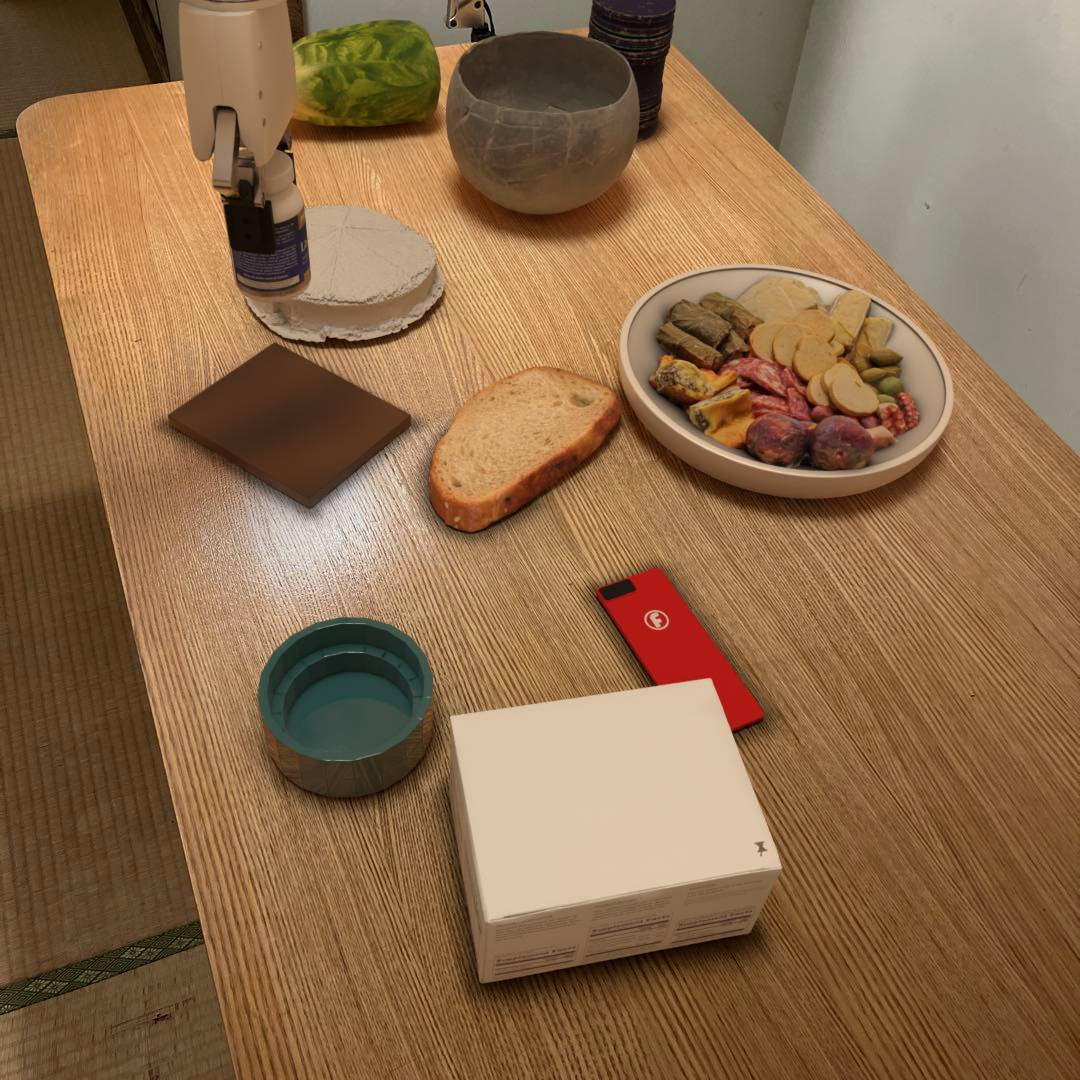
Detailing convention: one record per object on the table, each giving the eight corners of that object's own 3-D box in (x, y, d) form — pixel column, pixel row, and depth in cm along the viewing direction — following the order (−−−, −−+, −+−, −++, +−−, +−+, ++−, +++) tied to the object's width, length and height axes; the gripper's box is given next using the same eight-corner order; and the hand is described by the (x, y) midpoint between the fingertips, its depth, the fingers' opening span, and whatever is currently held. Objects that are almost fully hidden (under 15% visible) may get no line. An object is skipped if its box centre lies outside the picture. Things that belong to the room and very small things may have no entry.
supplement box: (688, 751, 74) (714, 673, 67) (751, 936, 66) (788, 869, 59) (445, 787, 71) (446, 709, 64) (479, 987, 63) (484, 922, 56)
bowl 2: (575, 319, 106) (583, 250, 101) (848, 292, 113) (871, 226, 107) (674, 541, 87) (691, 472, 82) (996, 493, 94) (1033, 426, 88)
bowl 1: (488, 135, 130) (493, 6, 119) (649, 177, 126) (670, 48, 115) (414, 217, 117) (412, 80, 105) (591, 267, 113) (608, 131, 101)
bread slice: (433, 536, 86) (433, 503, 83) (415, 389, 98) (414, 356, 95) (651, 521, 89) (658, 489, 86) (608, 380, 100) (612, 348, 98)
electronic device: (765, 718, 76) (658, 570, 85) (766, 714, 76) (659, 565, 85) (695, 747, 74) (593, 592, 83) (697, 743, 74) (594, 588, 83)
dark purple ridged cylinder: (658, 146, 131) (683, -8, 117) (577, 138, 131) (593, -17, 117) (656, 108, 138) (680, -43, 124) (580, 100, 137) (596, -51, 124)
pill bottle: (324, 293, 82) (313, 173, 74) (252, 313, 79) (233, 191, 72) (293, 254, 85) (280, 135, 77) (223, 273, 82) (203, 151, 75)
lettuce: (257, 110, 130) (245, 14, 121) (422, 92, 136) (421, -1, 127) (278, 157, 123) (266, 59, 114) (450, 136, 129) (451, 41, 120)
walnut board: (169, 425, 92) (166, 414, 91) (276, 351, 100) (274, 341, 99) (310, 509, 87) (308, 498, 86) (411, 424, 94) (411, 414, 94)
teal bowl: (231, 740, 72) (220, 699, 69) (342, 634, 79) (338, 591, 75) (359, 832, 69) (355, 793, 65) (465, 712, 75) (466, 671, 71)
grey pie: (196, 305, 104) (184, 243, 98) (317, 212, 116) (312, 153, 111) (372, 376, 98) (369, 315, 93) (479, 271, 111) (481, 212, 106)
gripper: (209, -94, 71) (245, 161, 84) (120, 13, 59) (178, 289, 73) (322, -82, 71) (340, 171, 84) (256, 27, 59) (289, 300, 73)
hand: (265, 223), depth 78 cm, fingers closed on pill bottle, 5 cm apart
